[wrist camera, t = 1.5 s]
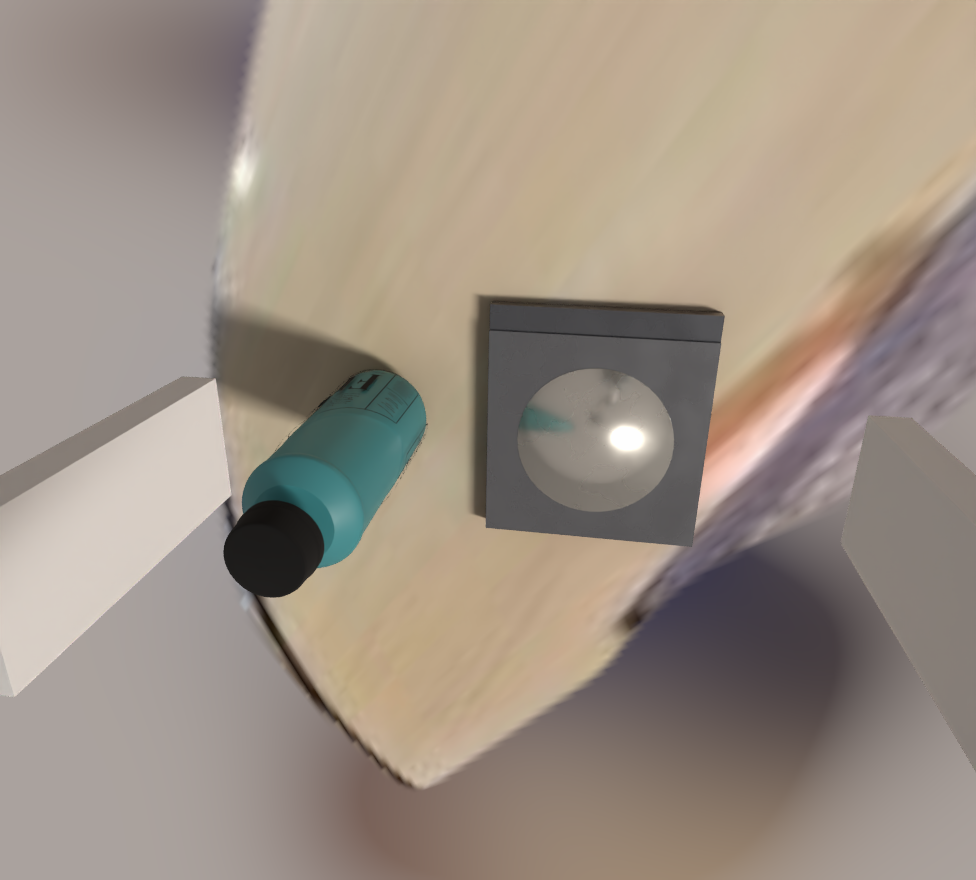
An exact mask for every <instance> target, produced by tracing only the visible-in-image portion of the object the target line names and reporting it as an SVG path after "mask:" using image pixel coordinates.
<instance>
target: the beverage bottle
mask: <svg viewBox="0 0 976 880" xmlns="http://www.w3.org/2000/svg"><path fill="white" fill-rule="evenodd" d="M364 371H365V370H364ZM360 372H361V371H360ZM355 375H356V373H355ZM351 376H352V375H351ZM353 376H354V375H353ZM346 380H347V379H346ZM344 382H345V381H344ZM337 388H338V387H337ZM334 393H335V394H334V395H331V394H330V395H331V396H332V397H331V396H330V397H328V398H327V399H326V400H324V401H323V402H322V403H321V404H320V405H318V407H319V409H318V410H317V411H316V409H314V410H315V411H316V412H315V413H314V414H313V415H312V416H311V417H310V418H309V419H308V420H307V421H305V422H304V423H303V424H302V425H301V426H300V427H299V428H298V429H297V430H296V431H295V432H294V433H293V434H292V435H291V436H290V437H289V436H288V439H287V440H286V441H285V442H284V444H283V445H282V446H281V447H280V448H279V449H278V450H277V451H276V450H275V451H276V452H275V453H274V454H273V455H272V456H271V457H270V458H269V459H268V460H266V461H265V462H263V463H262V464H261V465H259V466H258V467H257V468H256V469H255V470H254V471H253V473H252V474H251V475H250V477H249V478H248V480H247V482H246V485H245V488H244V491H243V496H242V509H243V515H242V516H241V517H240V519H239V520H238V522H237V524H236V526H235V527H234V528H233V529H232V531H231V532H230V533H229V535H228V537H227V539H226V541H225V545H224V560H225V564H226V566H227V569H228V570H229V572H230V574H231V575H232V577H233V578H234V579H235V580H236V582H238V583H239V584H240V585H241V586H242V587H243V588H245V589H246V590H248V591H250V592H252V593H254V594H256V595H259V596H263V597H282V596H285V595H288V594H290V593H292V592H294V591H295V590H297V589H298V588H299V587H300V586H301V585H302V584H303V583H304V581H305V580H306V579H307V578H308V577H310V576H311V575H312V574H313V573H314V571H315V570H316V569H317V568H322V567H327V566H330V565H333V564H336V563H338V562H340V561H342V560H343V559H345V558H346V557H347V556H348V555H350V554H351V553H352V551H353V550H354V549H355V548H356V546H357V545H358V543H359V541H360V539H361V537H362V534H363V533H364V531H365V529H366V528H367V526H368V524H369V523H370V521H371V520H372V518H373V516H374V515H375V513H376V511H377V510H378V508H379V507H380V505H381V504H382V503H383V500H384V498H385V497H386V495H387V494H388V493H389V491H390V490H391V488H392V487H393V485H394V484H395V482H396V481H397V479H398V478H399V476H400V474H401V472H402V471H404V470H403V469H404V467H405V466H406V468H407V465H406V464H408V463H409V462H408V461H410V460H411V458H410V457H411V456H413V452H414V451H415V449H416V447H417V446H418V445H419V442H421V441H420V440H422V437H423V435H424V431H425V427H426V425H427V424H426V413H425V407H424V404H423V401H422V399H421V397H420V395H419V393H418V392H417V390H416V389H415V388H414V387H413V386H412V385H411V384H410V383H409V382H408V381H407V380H405V379H404V378H402V377H400V376H398V375H396V374H394V373H391V372H387V371H384V370H374V371H367V372H361V373H360V374H359V373H358V375H356V376H354V377H352V378H349V380H348V381H347V382H346V383H345V384H344V385H343V386H342V387H341V388H340V389H339V390H338V391H337V392H334ZM320 406H321V407H320ZM313 412H314V411H313ZM296 427H297V426H296ZM296 427H295V428H296ZM425 435H426V434H425ZM425 435H424V436H425ZM423 439H424V438H423ZM281 442H282V441H281ZM421 444H422V443H421ZM421 444H420V445H421ZM420 445H419V447H420ZM278 446H279V445H278ZM417 450H418V448H417ZM416 452H417V451H416ZM416 452H414V453H415V454H416ZM413 457H414V456H413ZM410 462H411V461H410ZM402 474H404V473H402ZM400 479H401V478H400ZM396 486H397V485H396ZM388 497H389V496H388Z"/></svg>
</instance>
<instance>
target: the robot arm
mask: <svg viewBox="0 0 976 880" xmlns="http://www.w3.org/2000/svg"><path fill="white" fill-rule="evenodd" d="M230 496H231V488H230V481H229V473H228V466H227V459H226V451H225V444H224V436H223V429H222V421H221V414H220V406H219V399H218V392H217V384H216V378H198V377H181V378H179V379H177V380H175V381H173V382H172V383H169V384H168V385H166V386H164V387H162V388H160V389H158V390H157V391H155V392H153V393H151V394H149V395H147V396H146V397H144V398H142V399H140V400H138V401H136V402H134V403H133V404H131V405H129V406H127V407H126V408H123V409H122V410H120V411H118V412H116V413H114V414H112V415H111V416H109V417H107V418H105V419H103V420H101V421H100V422H98V423H96V424H94V425H92V426H90V427H89V428H87V429H85V430H83V431H81V432H79V433H78V434H76V435H74V436H72V437H70V438H68V439H66V440H65V441H63V442H61V443H59V444H57V445H55V446H54V447H52V448H50V449H48V450H46V451H44V452H43V453H41V454H39V455H37V456H35V457H33V458H31V459H30V460H28V461H26V462H24V463H22V464H20V465H19V466H17V467H15V468H13V469H11V470H9V471H8V472H6V473H4V474H2V475H0V695H2V696H11V697H15V696H16V695H17V694H18V693H19V692H20V691H21V690H22V689H24V688H25V687H26V686H27V685H28V684H29V683H30V682H31V681H32V680H33V679H34V678H35V677H37V676H38V675H39V674H40V673H41V672H42V671H43V670H44V669H45V668H46V667H47V666H48V665H49V664H50V663H51V662H53V661H54V660H55V659H56V658H57V657H58V656H59V655H60V654H61V653H62V652H63V651H64V650H65V649H67V647H69V646H70V645H71V644H72V643H73V642H74V641H75V640H76V639H77V638H78V637H79V636H81V635H82V634H83V633H84V631H86V630H87V629H88V628H89V627H90V626H91V625H92V624H93V623H95V622H96V621H97V620H98V619H99V618H100V617H101V616H102V615H103V614H104V613H105V612H106V611H107V610H108V609H110V608H111V607H112V606H113V605H114V604H115V603H116V602H117V601H118V600H119V599H120V598H121V597H122V596H123V595H125V594H126V593H127V592H128V591H129V590H130V589H131V588H132V587H133V586H134V585H135V584H136V583H137V582H139V580H141V579H142V578H143V577H144V576H145V575H146V574H147V573H148V572H149V571H150V570H151V569H152V568H154V566H156V565H157V564H158V563H159V562H160V561H161V560H162V559H163V558H164V557H165V556H166V555H168V554H169V553H170V552H171V551H172V550H173V549H174V548H175V547H176V546H177V545H178V544H179V543H180V542H181V541H183V540H184V539H185V538H186V537H187V536H188V535H189V534H190V533H191V532H192V531H193V530H194V529H195V528H197V527H198V526H199V525H200V524H201V523H202V522H203V521H204V520H205V519H206V518H207V517H208V516H209V515H210V514H212V513H213V512H214V511H215V510H216V509H217V508H218V507H219V506H220V505H221V504H222V503H223V502H224V501H226V500H227V499H228V498H229V497H230ZM841 545H842V546H843V548H844V550H845V552H846V553H847V555H848V557H849V558H850V560H851V562H852V563H853V565H854V567H855V568H856V570H857V572H858V574H859V575H860V577H861V579H862V580H863V582H864V584H865V585H866V587H867V589H868V590H869V592H870V594H871V595H872V597H873V599H874V601H875V602H876V604H877V606H878V607H879V609H880V611H881V612H882V614H883V616H884V617H885V619H886V621H887V622H888V624H889V626H890V628H891V629H892V631H893V632H894V634H895V636H896V638H897V639H898V641H899V643H900V644H901V646H902V648H903V650H904V651H905V653H906V655H907V656H908V658H909V660H910V661H911V663H912V665H913V666H914V668H915V670H916V671H917V673H918V675H919V677H920V678H921V680H922V682H923V683H924V685H925V687H926V688H927V690H928V692H929V693H930V695H931V697H932V699H933V700H934V702H935V703H936V705H937V707H938V709H939V710H940V712H941V714H942V715H943V717H944V719H945V720H946V722H947V724H948V725H949V727H950V729H951V731H952V732H953V734H954V736H955V737H956V739H957V741H958V742H959V744H960V746H961V747H962V749H963V751H964V753H965V754H966V756H967V758H968V759H969V761H970V763H971V764H972V766H973V768H974V770H975V771H976V475H975V474H974V473H973V472H972V471H971V470H969V469H968V468H967V467H966V466H965V465H964V464H963V463H962V462H960V461H959V460H958V459H957V458H956V457H955V456H954V455H952V454H951V453H950V452H949V451H948V450H947V449H946V448H945V447H944V446H942V445H941V444H940V443H939V442H938V441H937V440H936V439H935V438H933V437H932V436H931V435H930V434H929V433H928V432H927V431H926V430H924V429H923V428H922V427H921V426H920V425H919V424H918V423H917V422H915V421H914V420H913V419H912V418H902V417H885V416H868V419H867V424H866V429H865V433H864V438H863V442H862V447H861V452H860V456H859V461H858V465H857V470H856V475H855V479H854V484H853V488H852V493H851V498H850V502H849V507H848V511H847V516H846V521H845V525H844V530H843V534H842V539H841Z"/></svg>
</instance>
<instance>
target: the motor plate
mask: <svg viewBox="0 0 976 880" xmlns="http://www.w3.org/2000/svg"><path fill="white" fill-rule="evenodd" d="M723 323H724V314H723V313H722V312H703V311H683V310H663V309H643V308H623V307H603V306H583V305H563V304H543V303H523V302H503V301H492V303H491V304H490V330H489V372H488V429H487V485H486V528H495V529H506V530H517V531H528V532H538V533H549V534H560V535H571V536H582V537H592V538H603V539H614V540H625V541H635V542H646V543H657V544H668V545H678V546H689V547H692V543H693V536H694V529H695V522H696V515H697V508H698V502H699V495H700V488H701V481H702V474H703V467H704V460H705V453H706V446H707V439H708V432H709V425H710V418H711V411H712V404H713V397H714V390H715V383H716V376H717V369H718V362H719V355H720V348H721V337H722V330H723Z"/></svg>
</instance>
